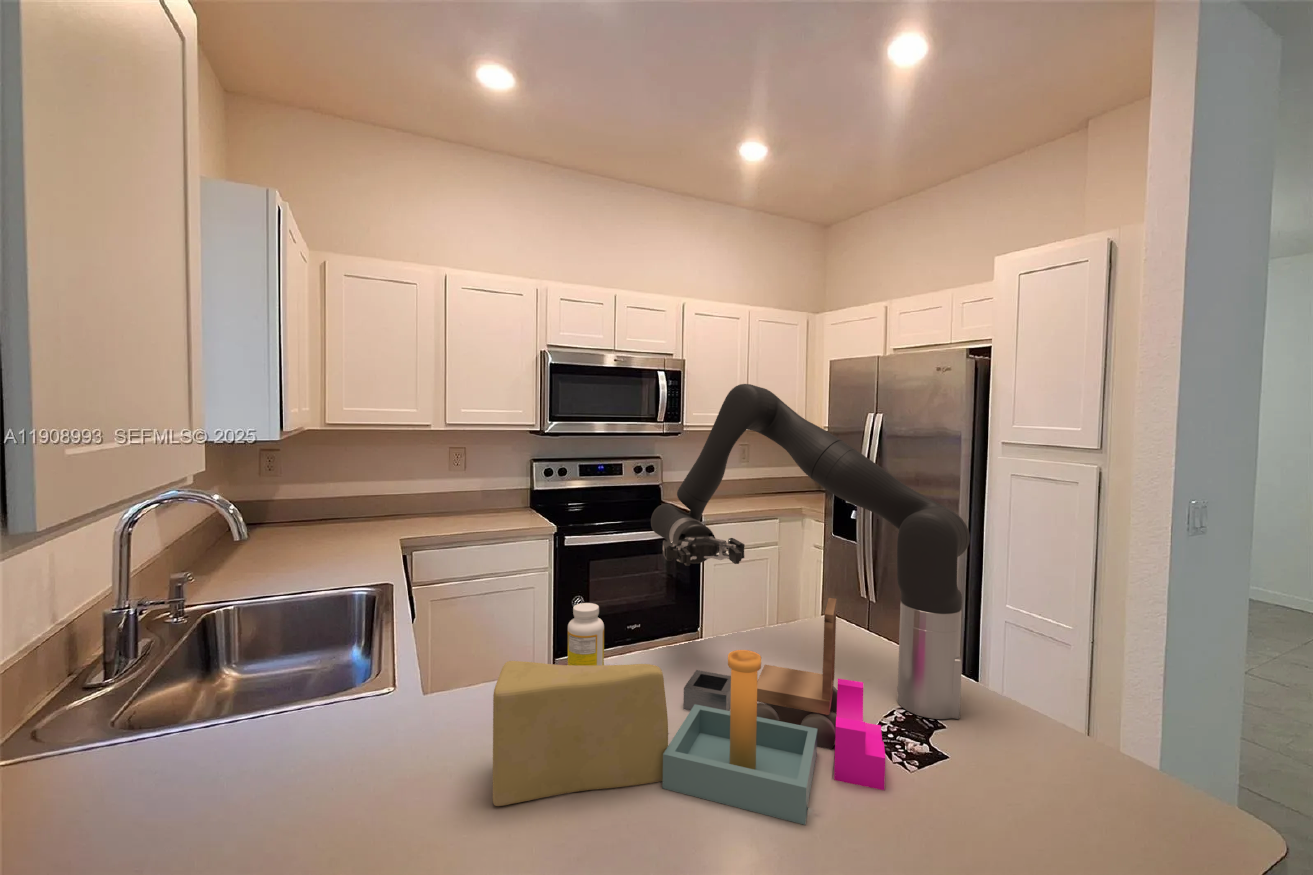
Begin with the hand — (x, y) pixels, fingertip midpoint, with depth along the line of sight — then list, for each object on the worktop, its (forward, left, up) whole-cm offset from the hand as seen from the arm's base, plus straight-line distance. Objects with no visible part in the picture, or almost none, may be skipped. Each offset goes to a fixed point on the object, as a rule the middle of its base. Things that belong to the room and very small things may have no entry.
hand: (713, 559), depth 98 cm
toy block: (-24, +7, -25) cm, 35 cm away
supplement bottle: (+24, 0, -24) cm, 34 cm away
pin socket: (-1, +3, -24) cm, 24 cm away
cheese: (+10, +28, -24) cm, 38 cm away
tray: (-10, +18, -24) cm, 32 cm away
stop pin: (-10, +18, -23) cm, 31 cm away
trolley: (-14, +3, -24) cm, 28 cm away
